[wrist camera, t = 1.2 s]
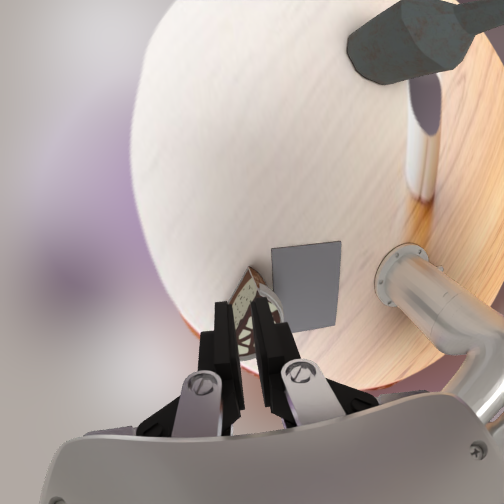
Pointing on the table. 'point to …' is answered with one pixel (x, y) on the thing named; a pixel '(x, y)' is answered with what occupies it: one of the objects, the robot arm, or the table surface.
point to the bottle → (420, 38)
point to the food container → (240, 301)
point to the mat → (307, 284)
